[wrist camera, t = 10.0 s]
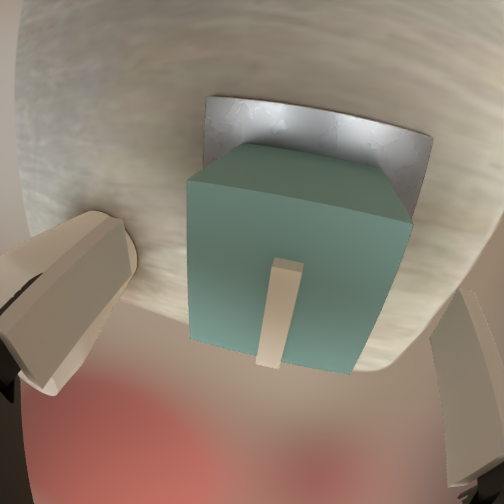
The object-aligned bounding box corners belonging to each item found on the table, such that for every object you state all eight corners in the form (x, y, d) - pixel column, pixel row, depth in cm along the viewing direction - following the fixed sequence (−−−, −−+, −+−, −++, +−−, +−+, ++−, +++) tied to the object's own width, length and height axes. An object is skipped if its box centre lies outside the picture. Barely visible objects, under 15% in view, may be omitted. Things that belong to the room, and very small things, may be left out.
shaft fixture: (213, 95, 16) (159, 105, 11) (428, 135, 14) (471, 163, 9) (206, 271, 22) (170, 329, 17) (372, 307, 20) (377, 375, 15)
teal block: (242, 142, 16) (179, 185, 9) (382, 169, 15) (417, 232, 8) (232, 260, 20) (185, 347, 13) (349, 285, 19) (349, 385, 12)
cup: (68, 265, 26) (-14, 347, 16) (67, 180, 21) (-52, 258, 11) (145, 307, 26) (70, 415, 16) (159, 221, 21) (42, 341, 11)
